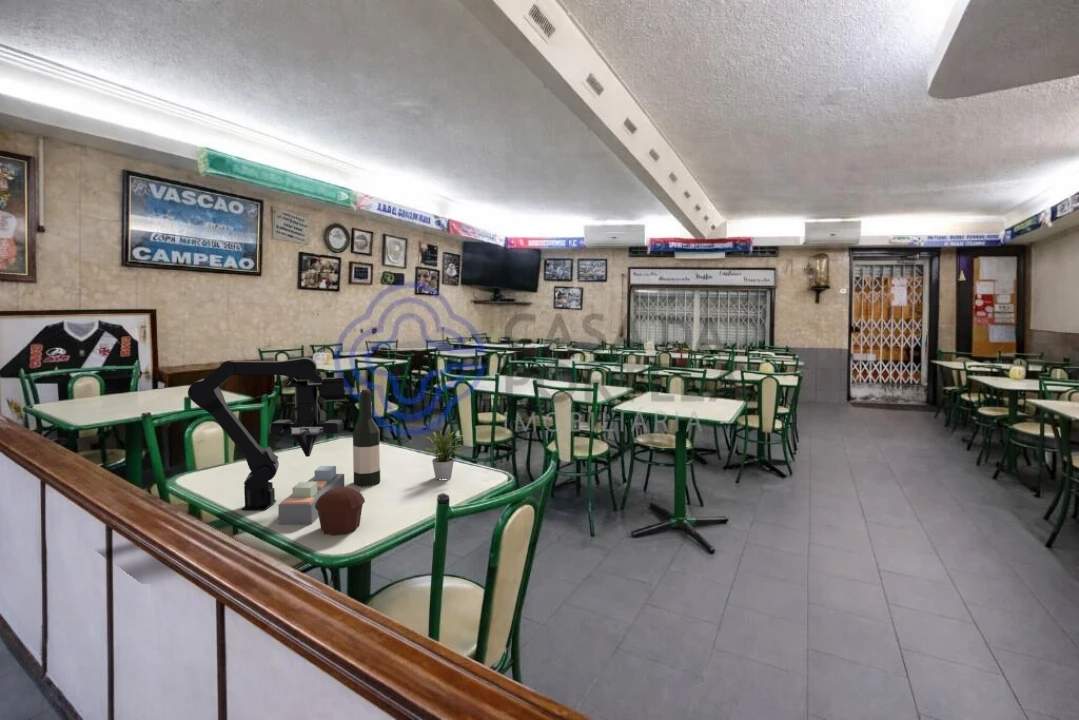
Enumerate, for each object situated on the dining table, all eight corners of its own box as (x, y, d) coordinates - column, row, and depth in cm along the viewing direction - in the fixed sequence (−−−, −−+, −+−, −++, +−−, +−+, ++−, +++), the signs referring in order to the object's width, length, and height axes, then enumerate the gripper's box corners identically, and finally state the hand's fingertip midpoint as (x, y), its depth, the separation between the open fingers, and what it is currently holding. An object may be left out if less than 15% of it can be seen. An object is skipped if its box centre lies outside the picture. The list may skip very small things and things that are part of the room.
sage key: (292, 500, 135) (292, 487, 135) (300, 494, 139) (299, 482, 139) (310, 500, 135) (310, 487, 135) (317, 494, 140) (317, 482, 139)
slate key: (314, 482, 150) (314, 470, 149) (320, 477, 154) (320, 465, 154) (330, 482, 150) (330, 470, 150) (336, 477, 155) (336, 465, 154)
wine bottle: (372, 487, 159) (370, 391, 156) (348, 485, 161) (346, 390, 158) (385, 479, 167) (384, 388, 165) (362, 477, 169) (360, 387, 166)
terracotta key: (304, 498, 142) (304, 486, 142) (311, 493, 147) (310, 481, 147) (321, 498, 143) (321, 486, 142) (327, 492, 147) (327, 481, 147)
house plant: (462, 486, 161) (462, 435, 160) (418, 486, 161) (417, 435, 160) (468, 472, 175) (468, 425, 174) (427, 472, 175) (427, 425, 174)
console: (278, 524, 131) (278, 502, 130) (317, 489, 156) (316, 472, 156) (311, 523, 131) (311, 502, 131) (344, 489, 157) (344, 471, 156)
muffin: (321, 541, 121) (320, 500, 120) (310, 526, 130) (309, 487, 129) (371, 530, 128) (371, 491, 127) (358, 515, 137) (357, 479, 136)
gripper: (349, 397, 153) (350, 448, 155) (285, 397, 152) (286, 449, 154) (336, 404, 142) (337, 459, 144) (267, 403, 141) (269, 459, 143)
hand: (308, 456), depth 146 cm, fingers closed
